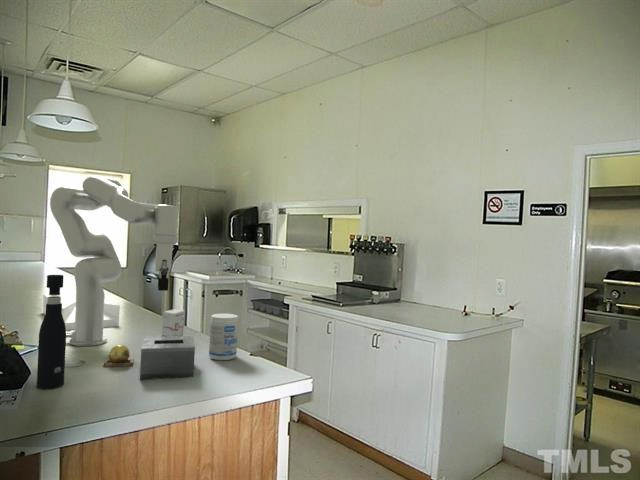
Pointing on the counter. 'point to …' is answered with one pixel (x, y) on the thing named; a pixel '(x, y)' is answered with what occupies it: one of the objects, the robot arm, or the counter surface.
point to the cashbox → (167, 357)
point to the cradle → (109, 364)
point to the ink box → (173, 323)
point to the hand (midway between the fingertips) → (162, 288)
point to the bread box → (70, 308)
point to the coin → (119, 354)
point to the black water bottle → (52, 339)
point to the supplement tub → (223, 336)
